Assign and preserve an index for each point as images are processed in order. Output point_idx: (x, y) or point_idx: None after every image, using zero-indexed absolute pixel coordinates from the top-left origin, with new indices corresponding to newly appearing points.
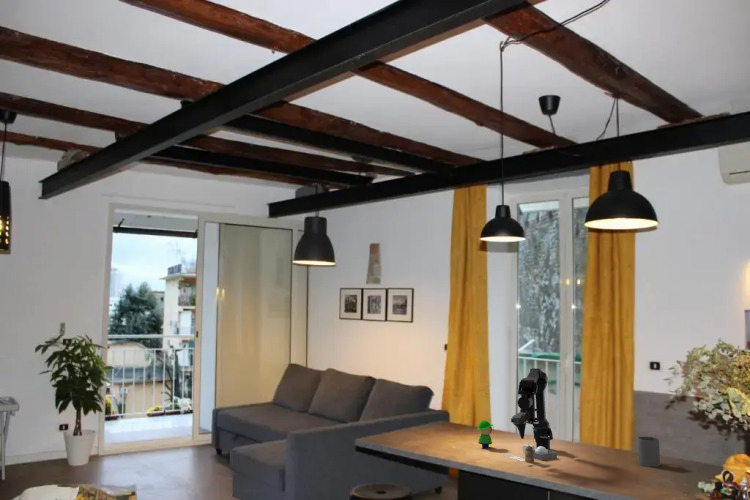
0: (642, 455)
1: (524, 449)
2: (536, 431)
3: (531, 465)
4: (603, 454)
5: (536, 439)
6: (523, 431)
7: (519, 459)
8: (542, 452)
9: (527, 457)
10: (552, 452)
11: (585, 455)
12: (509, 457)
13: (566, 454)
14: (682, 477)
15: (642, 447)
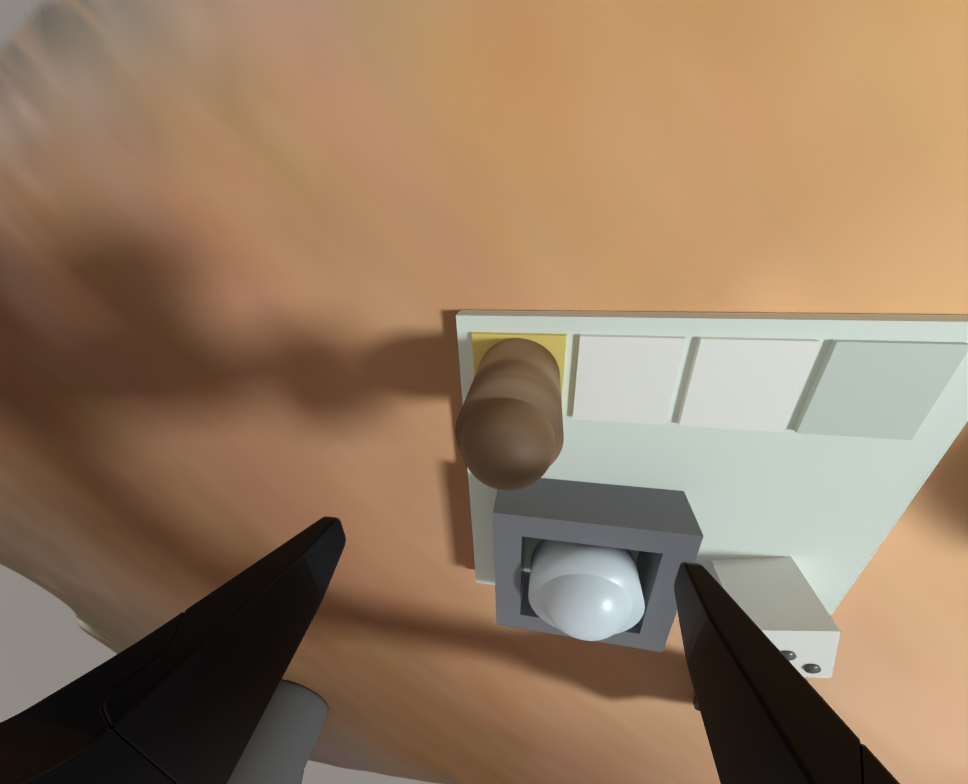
0: (259, 729)
1: (796, 593)
2: (17, 725)
3: (459, 332)
4: (493, 740)
5: (280, 552)
6: (738, 781)
7: (648, 365)
8: (539, 563)
9: (500, 358)
10: (508, 608)
11: (519, 706)
12: (798, 344)
13: (590, 687)
14: (131, 634)
15: (232, 774)
